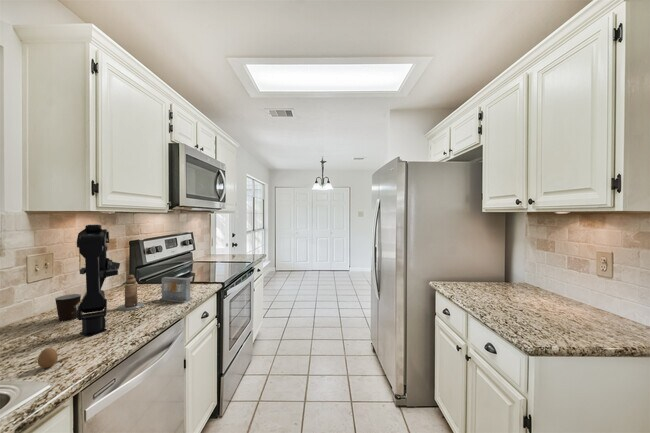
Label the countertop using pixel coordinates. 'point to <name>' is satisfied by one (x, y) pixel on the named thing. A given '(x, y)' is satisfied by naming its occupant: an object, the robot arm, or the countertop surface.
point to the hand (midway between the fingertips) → (99, 290)
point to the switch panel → (175, 289)
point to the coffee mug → (68, 306)
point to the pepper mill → (131, 292)
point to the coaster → (123, 308)
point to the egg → (47, 358)
